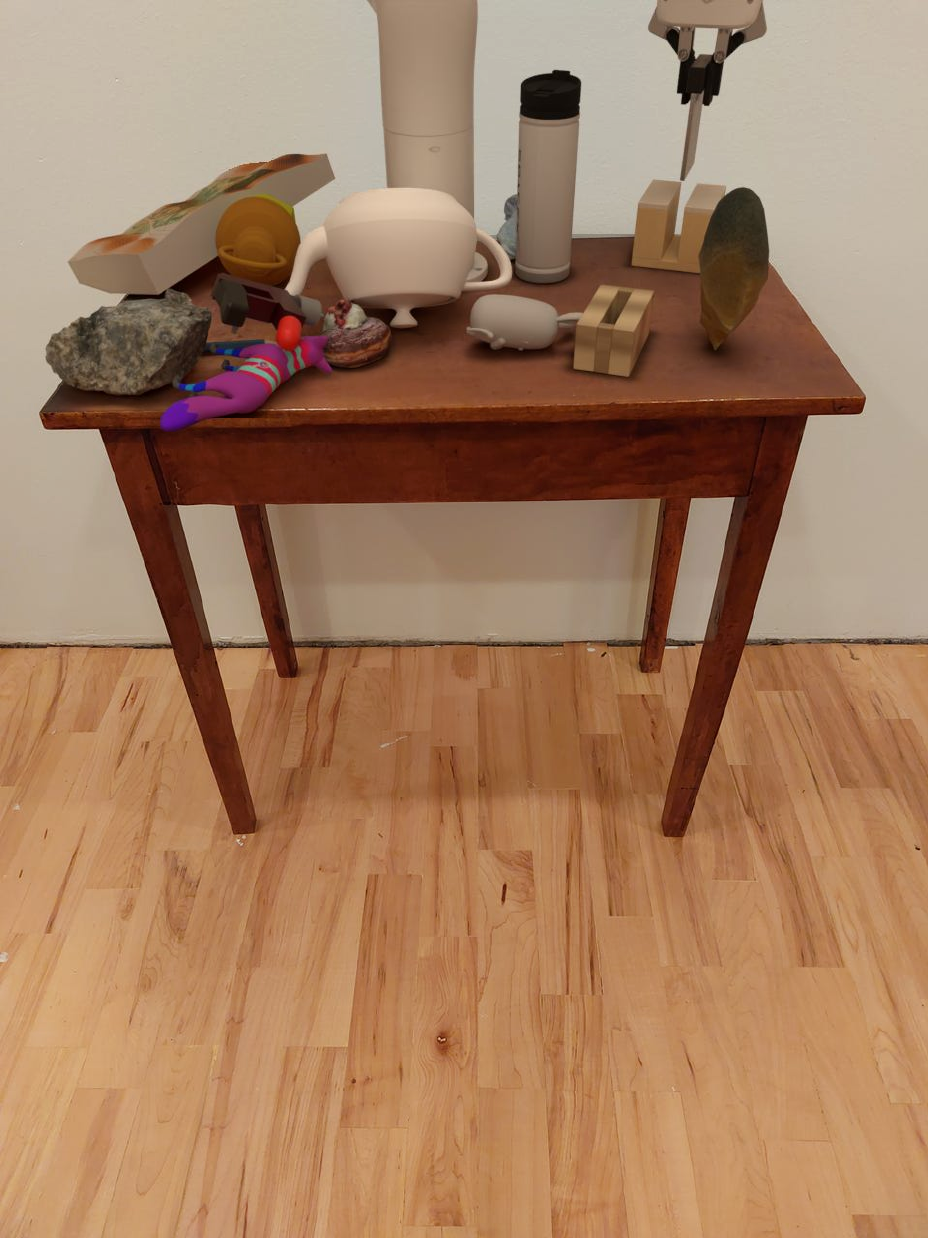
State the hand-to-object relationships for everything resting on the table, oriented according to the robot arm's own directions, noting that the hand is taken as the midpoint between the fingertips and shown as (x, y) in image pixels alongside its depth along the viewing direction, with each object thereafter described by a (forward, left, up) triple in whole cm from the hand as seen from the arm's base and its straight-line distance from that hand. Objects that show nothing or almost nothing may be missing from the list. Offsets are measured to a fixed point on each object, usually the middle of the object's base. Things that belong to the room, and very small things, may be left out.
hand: (696, 100), depth 99 cm
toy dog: (-36, -48, -15) cm, 62 cm away
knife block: (-2, -28, -17) cm, 32 cm away
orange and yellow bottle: (-43, -22, -17) cm, 51 cm away
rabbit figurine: (-10, -29, -17) cm, 35 cm away
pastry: (-26, -36, -17) cm, 47 cm away
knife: (0, 0, -7) cm, 7 cm away
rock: (-41, -52, -10) cm, 67 cm away
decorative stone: (+8, -24, -17) cm, 31 cm away
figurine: (-18, -2, -17) cm, 24 cm away
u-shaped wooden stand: (0, 0, -17) cm, 17 cm away
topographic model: (-53, -17, -14) cm, 57 cm away
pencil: (-40, -41, -17) cm, 59 cm away
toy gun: (-29, -42, -9) cm, 52 cm away
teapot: (-26, -25, -5) cm, 36 cm away
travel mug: (-14, -10, -17) cm, 24 cm away
